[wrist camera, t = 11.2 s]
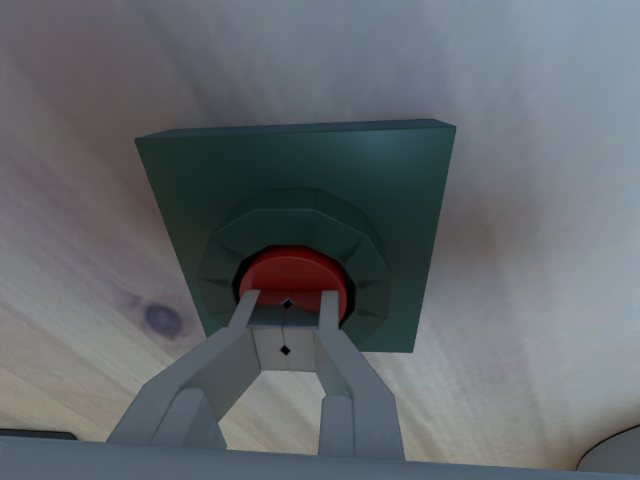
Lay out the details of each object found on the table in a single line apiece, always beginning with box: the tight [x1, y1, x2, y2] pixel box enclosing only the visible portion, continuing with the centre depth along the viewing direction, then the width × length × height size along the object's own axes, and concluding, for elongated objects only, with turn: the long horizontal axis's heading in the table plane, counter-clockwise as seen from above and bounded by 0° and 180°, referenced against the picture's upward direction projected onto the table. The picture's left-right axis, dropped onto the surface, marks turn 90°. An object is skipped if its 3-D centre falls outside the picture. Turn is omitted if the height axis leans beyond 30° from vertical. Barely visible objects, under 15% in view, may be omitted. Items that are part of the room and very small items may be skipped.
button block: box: [134, 119, 456, 353], centre depth 11 cm, size 10×10×4 cm
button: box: [239, 245, 347, 322], centre depth 10 cm, size 4×4×2 cm
